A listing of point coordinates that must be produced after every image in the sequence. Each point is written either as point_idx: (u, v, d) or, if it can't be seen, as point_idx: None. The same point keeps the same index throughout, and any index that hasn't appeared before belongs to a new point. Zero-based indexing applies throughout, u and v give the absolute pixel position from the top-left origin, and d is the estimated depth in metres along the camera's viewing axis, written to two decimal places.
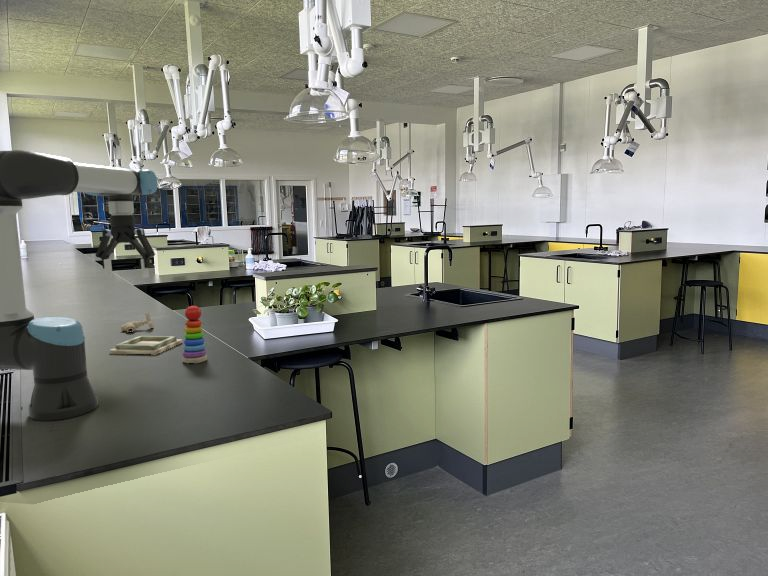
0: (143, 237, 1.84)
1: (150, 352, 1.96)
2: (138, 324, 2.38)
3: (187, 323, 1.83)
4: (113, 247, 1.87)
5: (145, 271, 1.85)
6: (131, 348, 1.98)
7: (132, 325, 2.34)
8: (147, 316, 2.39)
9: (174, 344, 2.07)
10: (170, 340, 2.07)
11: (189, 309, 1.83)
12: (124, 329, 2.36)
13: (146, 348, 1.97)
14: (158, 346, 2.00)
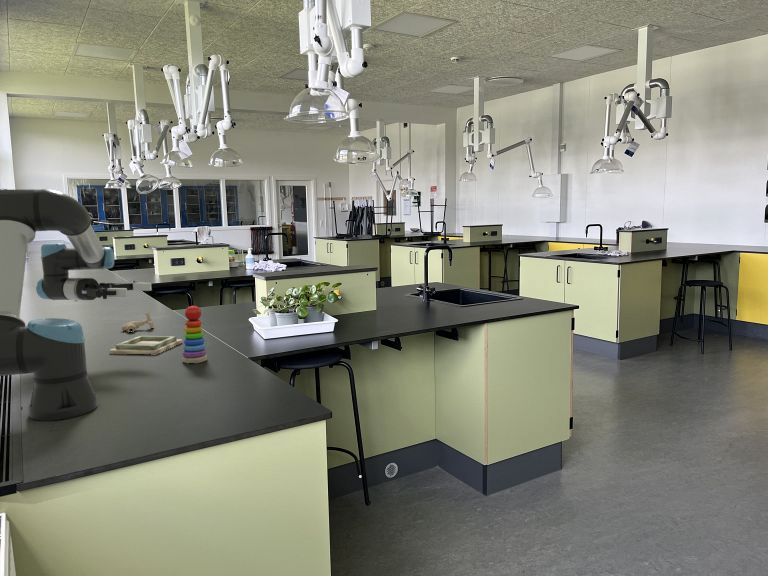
0: None
1: (150, 352, 1.96)
2: (139, 324, 2.38)
3: (187, 323, 1.83)
4: None
5: None
6: (131, 348, 1.98)
7: (133, 325, 2.35)
8: (147, 316, 2.40)
9: (174, 344, 2.07)
10: (170, 340, 2.07)
11: (189, 309, 1.83)
12: (125, 329, 2.36)
13: (146, 348, 1.97)
14: (158, 346, 2.00)
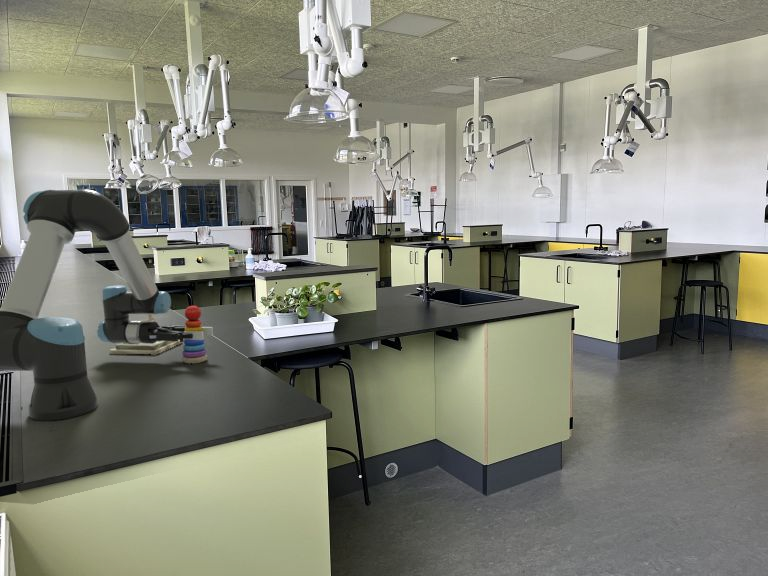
0: None
1: (150, 352, 1.96)
2: None
3: (187, 323, 1.83)
4: None
5: None
6: (131, 348, 1.98)
7: None
8: (149, 315, 2.41)
9: (174, 344, 2.07)
10: None
11: (189, 309, 1.82)
12: None
13: (146, 348, 1.97)
14: (158, 346, 2.00)
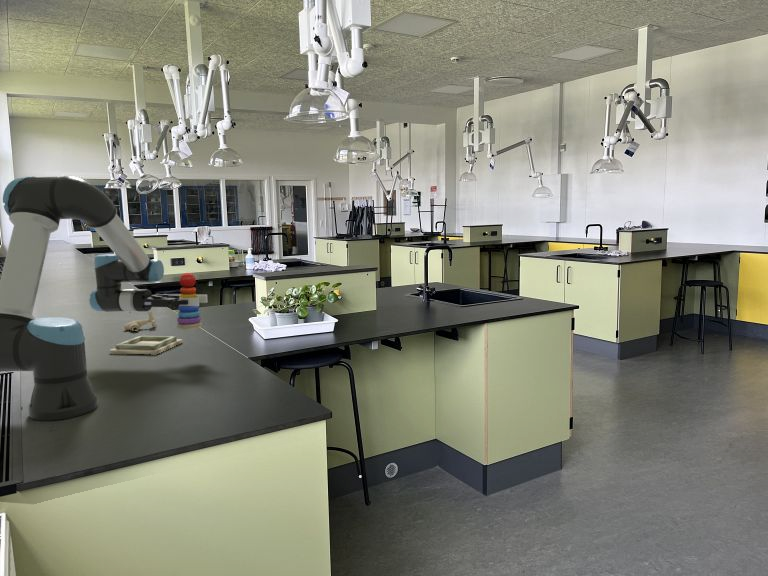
0: None
1: (150, 352, 1.96)
2: (141, 323, 2.40)
3: (182, 290, 1.84)
4: None
5: None
6: (131, 348, 1.98)
7: (136, 324, 2.37)
8: (150, 315, 2.42)
9: (174, 344, 2.07)
10: (170, 340, 2.07)
11: (184, 276, 1.84)
12: (128, 328, 2.38)
13: (146, 348, 1.97)
14: (158, 346, 2.00)
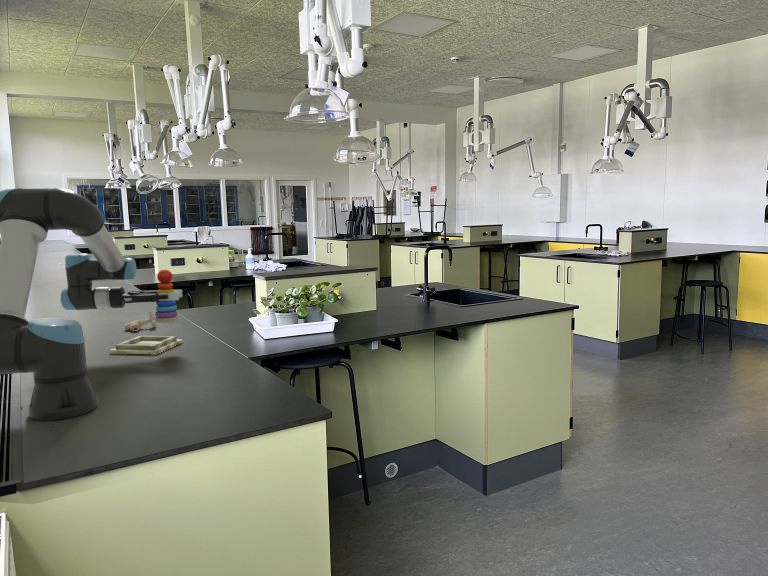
0: None
1: (150, 352, 1.96)
2: (142, 323, 2.41)
3: (161, 285, 1.95)
4: None
5: None
6: (131, 348, 1.98)
7: (137, 324, 2.37)
8: (150, 315, 2.42)
9: (174, 344, 2.07)
10: (170, 340, 2.07)
11: (162, 272, 1.95)
12: (128, 328, 2.38)
13: (146, 348, 1.97)
14: (158, 346, 2.00)
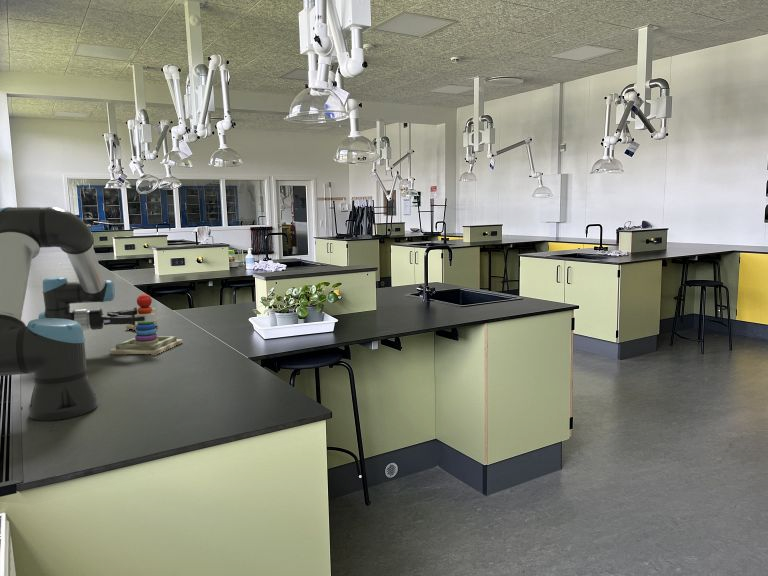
0: None
1: (150, 352, 1.96)
2: None
3: (141, 310, 2.01)
4: None
5: None
6: (131, 348, 1.98)
7: None
8: None
9: (174, 344, 2.07)
10: (170, 340, 2.07)
11: (143, 297, 2.01)
12: (129, 328, 2.39)
13: (146, 348, 1.97)
14: (158, 346, 2.00)
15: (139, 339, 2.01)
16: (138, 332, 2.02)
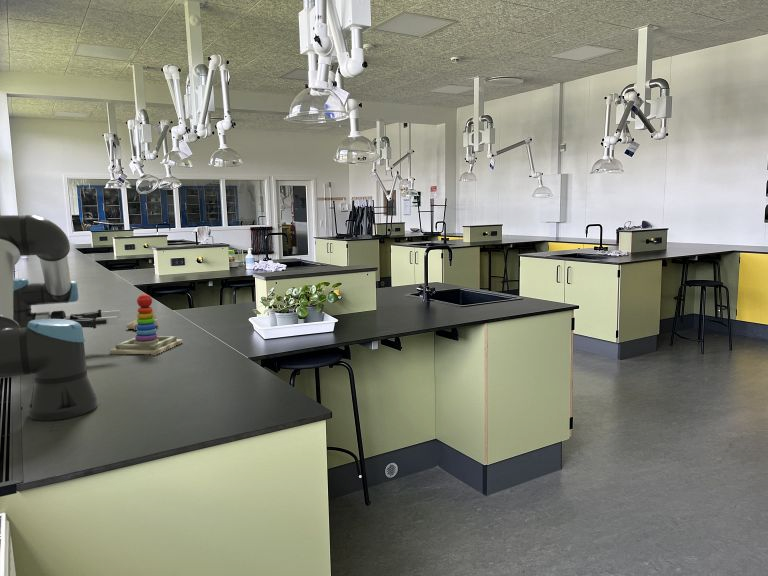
0: None
1: (150, 352, 1.96)
2: None
3: (141, 310, 2.01)
4: None
5: None
6: (131, 348, 1.98)
7: None
8: None
9: (174, 344, 2.07)
10: (170, 340, 2.07)
11: (143, 297, 2.01)
12: (130, 327, 2.39)
13: (146, 348, 1.97)
14: (158, 346, 2.00)
15: (139, 339, 2.01)
16: (138, 332, 2.02)
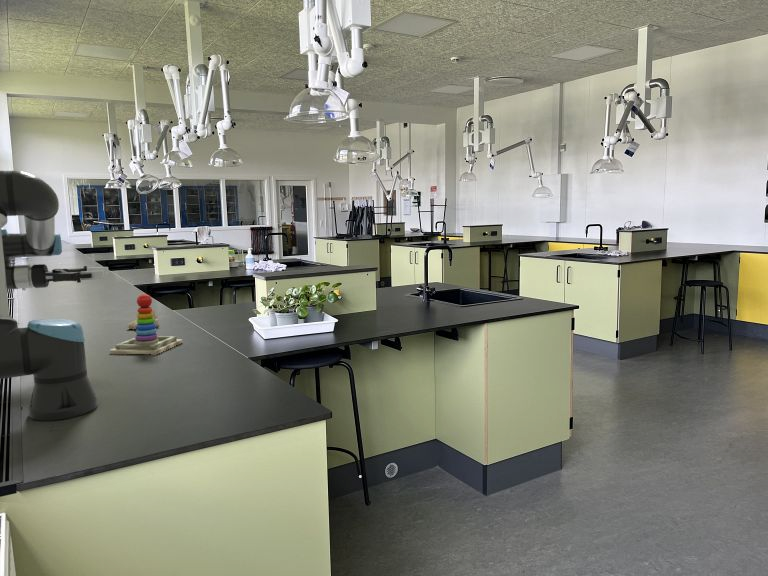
0: None
1: (150, 352, 1.96)
2: None
3: (141, 310, 2.01)
4: None
5: None
6: (131, 348, 1.98)
7: None
8: (153, 314, 2.45)
9: (174, 344, 2.07)
10: (170, 340, 2.07)
11: (143, 297, 2.01)
12: (131, 327, 2.40)
13: (146, 348, 1.97)
14: (158, 346, 2.00)
15: (139, 339, 2.01)
16: (138, 332, 2.02)
